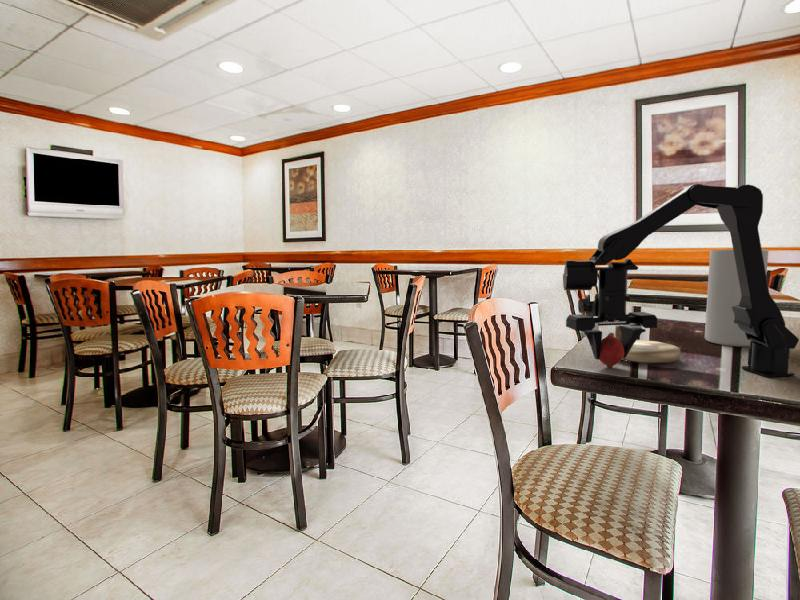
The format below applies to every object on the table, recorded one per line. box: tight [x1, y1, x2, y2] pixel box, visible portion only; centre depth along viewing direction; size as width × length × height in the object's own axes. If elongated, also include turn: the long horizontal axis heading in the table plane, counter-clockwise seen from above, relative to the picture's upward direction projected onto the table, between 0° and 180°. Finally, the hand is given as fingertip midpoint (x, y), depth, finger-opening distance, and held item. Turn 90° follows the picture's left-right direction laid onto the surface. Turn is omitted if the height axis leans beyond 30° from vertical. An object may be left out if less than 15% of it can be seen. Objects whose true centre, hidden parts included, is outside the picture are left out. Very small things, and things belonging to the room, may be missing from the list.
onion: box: [599, 332, 624, 368], centre depth 103 cm, size 6×6×8 cm
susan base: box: [622, 359, 668, 365], centre depth 112 cm, size 12×12×1 cm
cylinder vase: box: [704, 249, 769, 348], centre depth 124 cm, size 12×12×25 cm
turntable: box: [614, 325, 681, 363], centre depth 111 cm, size 16×16×6 cm
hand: (610, 358), depth 104 cm, fingers closed on onion, 6 cm apart
